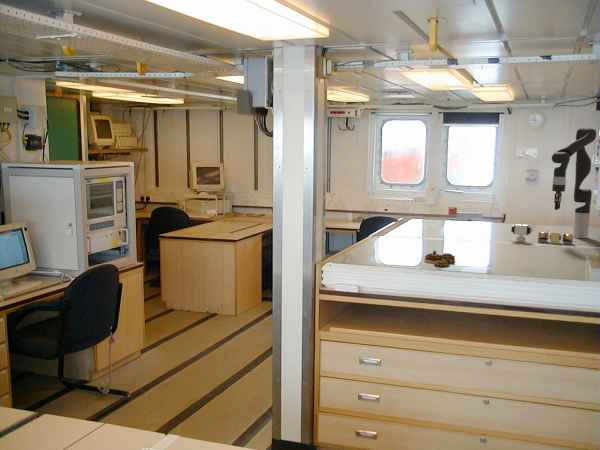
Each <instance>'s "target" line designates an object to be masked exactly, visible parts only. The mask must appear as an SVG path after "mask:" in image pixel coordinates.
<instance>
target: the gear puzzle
mask: <svg viewBox="0 0 600 450" xmlns="http://www.w3.org/2000/svg"><path fill="white" fill-rule="evenodd" d="M455 257H456V256H455V255H452V253H446V252H445V253H443V254H437V250H433V251H432V253H431V252H430V253H429V254H426V255H425V256H424V259H423V260H424V263H426V264H431V265H434V266H438V267H450V265H453V266H455V265H456V264H455V263H456V258H455Z"/></svg>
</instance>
